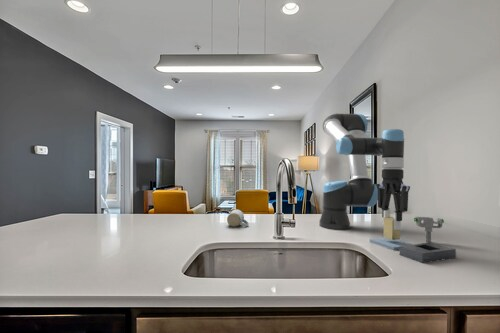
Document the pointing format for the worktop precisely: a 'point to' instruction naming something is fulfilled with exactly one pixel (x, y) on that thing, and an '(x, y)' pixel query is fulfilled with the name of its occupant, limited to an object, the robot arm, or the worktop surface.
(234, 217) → the ceramic mug
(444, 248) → the grey recessed block
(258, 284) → the worktop surface
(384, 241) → the blue mat
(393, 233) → the brass block
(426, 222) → the mechanical component
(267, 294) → the worktop surface
